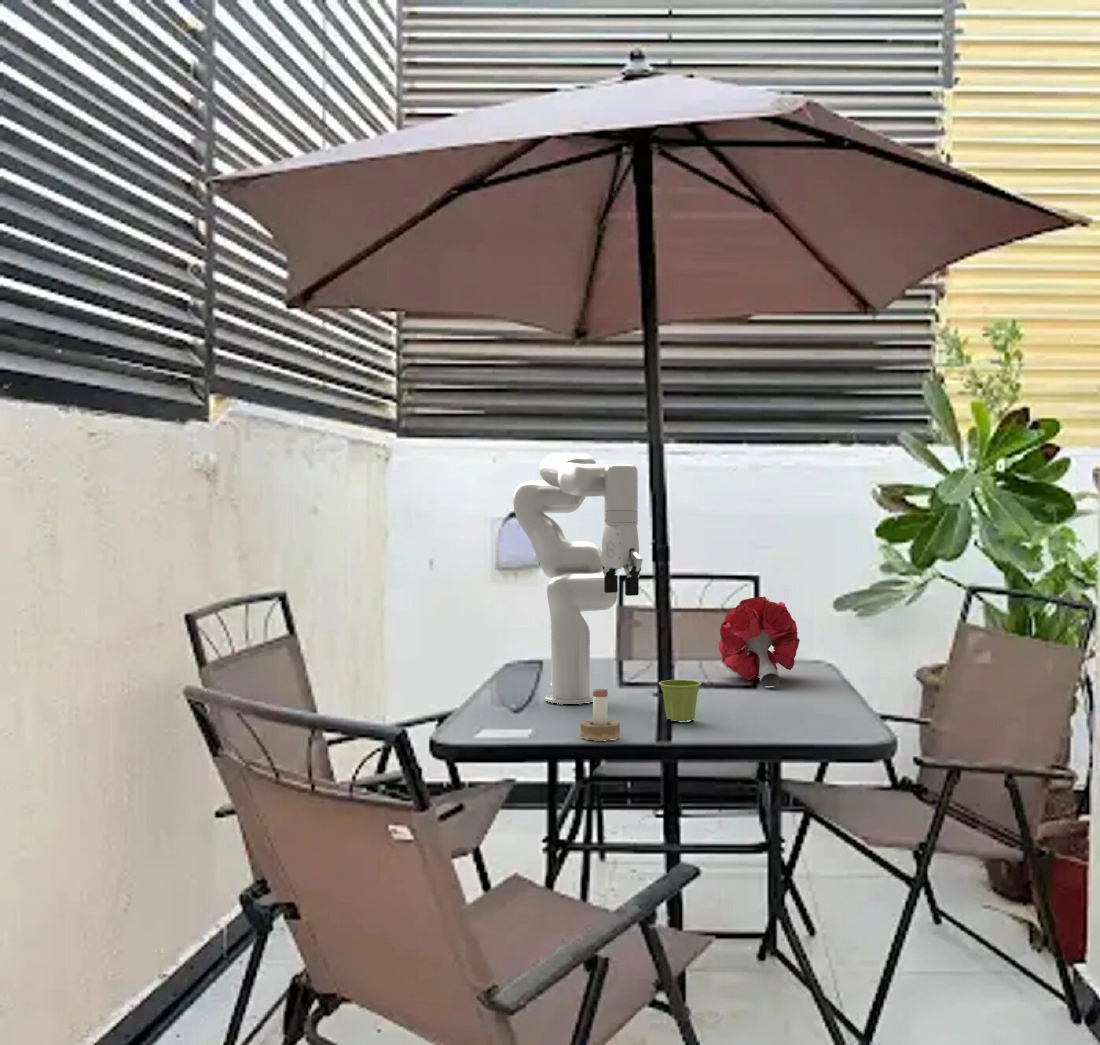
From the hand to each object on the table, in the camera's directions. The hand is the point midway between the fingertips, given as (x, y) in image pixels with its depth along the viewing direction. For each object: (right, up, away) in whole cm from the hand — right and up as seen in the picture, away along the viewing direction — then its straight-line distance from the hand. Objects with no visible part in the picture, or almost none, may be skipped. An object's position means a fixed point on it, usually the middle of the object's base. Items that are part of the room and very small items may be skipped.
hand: (621, 593), depth 271 cm
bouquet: (+41, -28, +56) cm, 75 cm away
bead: (-6, -29, -22) cm, 37 cm away
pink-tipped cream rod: (-6, -29, -22) cm, 37 cm away
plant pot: (+13, -29, -3) cm, 32 cm away
